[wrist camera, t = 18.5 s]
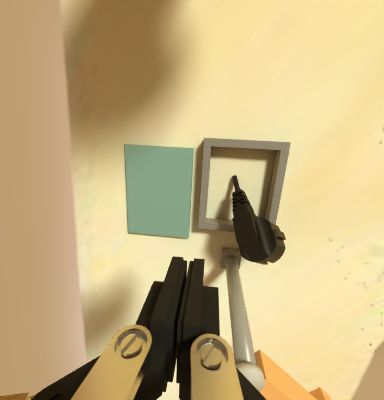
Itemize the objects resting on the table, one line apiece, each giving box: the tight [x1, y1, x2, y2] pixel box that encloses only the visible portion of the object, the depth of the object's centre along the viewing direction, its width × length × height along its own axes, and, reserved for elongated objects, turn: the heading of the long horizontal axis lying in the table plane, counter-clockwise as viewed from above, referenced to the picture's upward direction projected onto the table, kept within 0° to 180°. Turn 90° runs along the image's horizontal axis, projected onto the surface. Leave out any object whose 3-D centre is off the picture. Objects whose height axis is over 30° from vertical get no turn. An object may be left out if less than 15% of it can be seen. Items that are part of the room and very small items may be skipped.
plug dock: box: [198, 138, 290, 365], centre depth 23 cm, size 20×11×18 cm, turn 177°
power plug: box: [232, 175, 286, 265], centre depth 28 cm, size 6×8×12 cm
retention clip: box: [235, 350, 331, 400], centre depth 19 cm, size 15×3×5 cm, turn 46°
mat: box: [125, 145, 194, 238], centre depth 31 cm, size 14×10×1 cm
